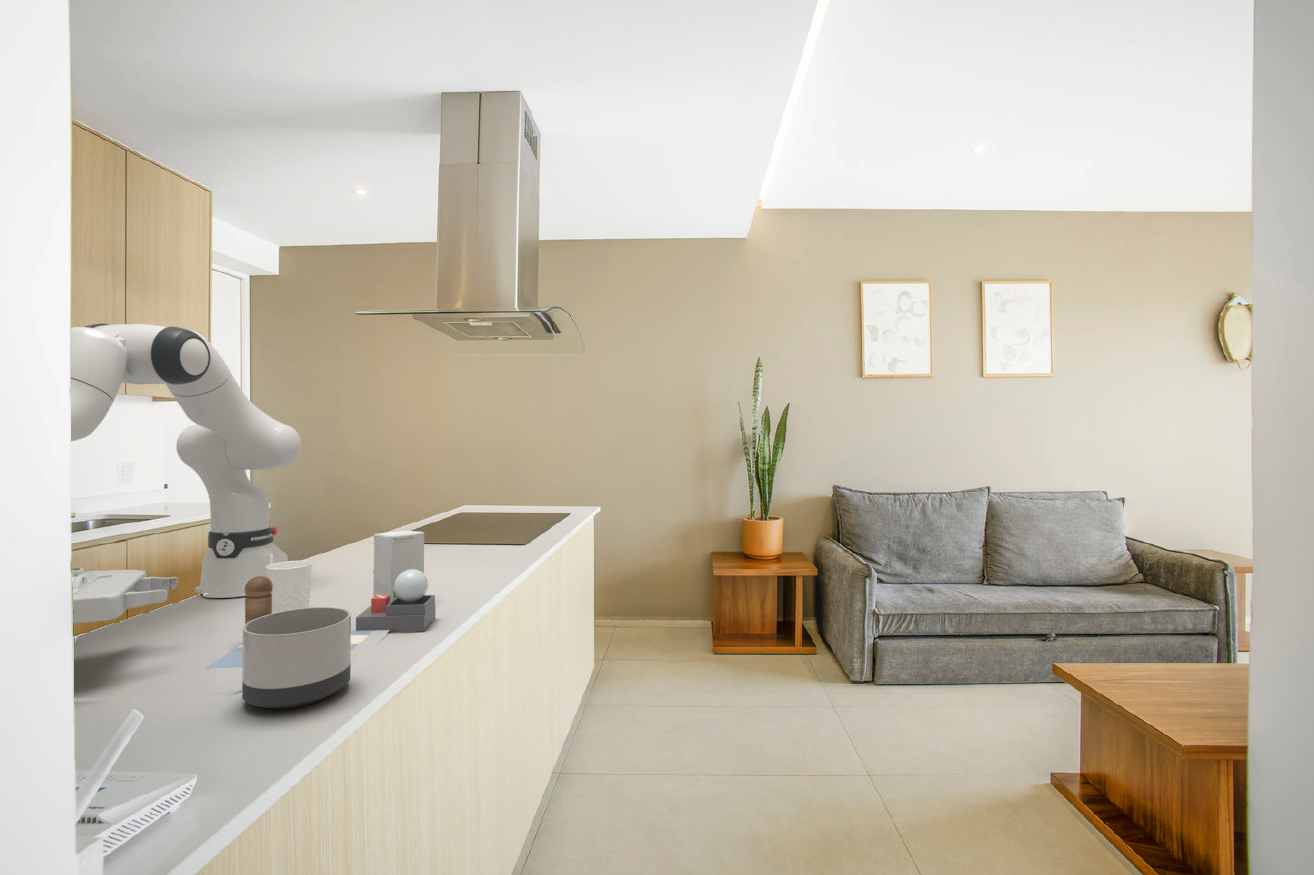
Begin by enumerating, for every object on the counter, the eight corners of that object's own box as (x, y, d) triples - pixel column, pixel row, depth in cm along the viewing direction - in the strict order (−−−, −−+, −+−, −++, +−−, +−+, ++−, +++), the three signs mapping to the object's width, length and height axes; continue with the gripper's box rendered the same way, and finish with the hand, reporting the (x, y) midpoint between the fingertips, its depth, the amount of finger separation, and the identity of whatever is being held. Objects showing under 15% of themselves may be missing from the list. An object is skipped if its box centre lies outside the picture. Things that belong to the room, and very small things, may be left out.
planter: (363, 696, 83) (363, 620, 83) (253, 727, 74) (253, 642, 74) (334, 670, 92) (335, 602, 92) (233, 694, 83) (234, 619, 83)
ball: (399, 597, 116) (399, 566, 116) (431, 596, 117) (431, 566, 117) (389, 606, 110) (389, 573, 110) (423, 605, 111) (423, 572, 111)
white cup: (320, 609, 124) (320, 561, 124) (293, 620, 116) (293, 569, 116) (284, 607, 124) (285, 560, 124) (255, 619, 117) (256, 568, 117)
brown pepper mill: (251, 638, 104) (252, 573, 104) (278, 637, 104) (279, 573, 104) (237, 647, 99) (237, 579, 99) (265, 646, 100) (265, 579, 100)
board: (260, 636, 106) (260, 633, 106) (374, 633, 109) (374, 629, 109) (202, 672, 90) (202, 667, 90) (338, 667, 93) (338, 663, 93)
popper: (371, 620, 116) (371, 591, 116) (435, 618, 118) (435, 589, 118) (355, 633, 108) (356, 602, 108) (424, 631, 110) (424, 600, 110)
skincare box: (390, 613, 121) (390, 536, 121) (370, 608, 125) (371, 533, 125) (425, 603, 128) (425, 531, 128) (406, 599, 132) (406, 528, 132)
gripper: (25, 593, 78) (160, 581, 86) (73, 566, 96) (182, 558, 103) (24, 641, 78) (159, 625, 86) (73, 606, 96) (182, 595, 103)
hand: (172, 588), depth 94 cm, fingers open, 8 cm apart
